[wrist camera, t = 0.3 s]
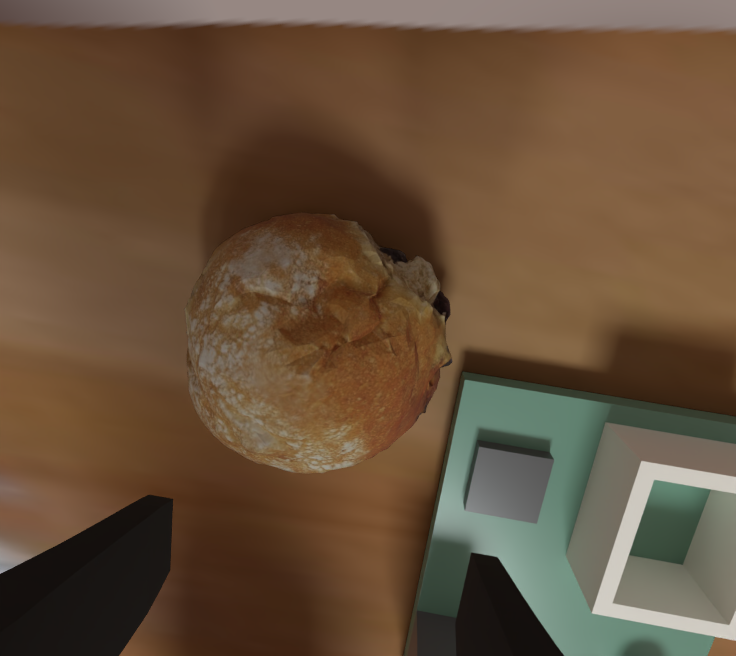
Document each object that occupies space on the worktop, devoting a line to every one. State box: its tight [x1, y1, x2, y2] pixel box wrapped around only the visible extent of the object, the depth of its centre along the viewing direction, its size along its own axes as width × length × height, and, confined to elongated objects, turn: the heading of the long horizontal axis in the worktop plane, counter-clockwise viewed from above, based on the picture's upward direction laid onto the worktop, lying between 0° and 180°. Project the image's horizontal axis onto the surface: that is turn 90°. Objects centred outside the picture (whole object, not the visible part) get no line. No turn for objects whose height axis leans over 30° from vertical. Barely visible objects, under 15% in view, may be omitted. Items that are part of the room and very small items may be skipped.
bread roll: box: [184, 212, 452, 474], centre depth 18 cm, size 10×10×8 cm
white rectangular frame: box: [566, 422, 736, 640], centre depth 18 cm, size 6×5×3 cm
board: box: [404, 372, 736, 656], centre depth 20 cm, size 16×13×2 cm
